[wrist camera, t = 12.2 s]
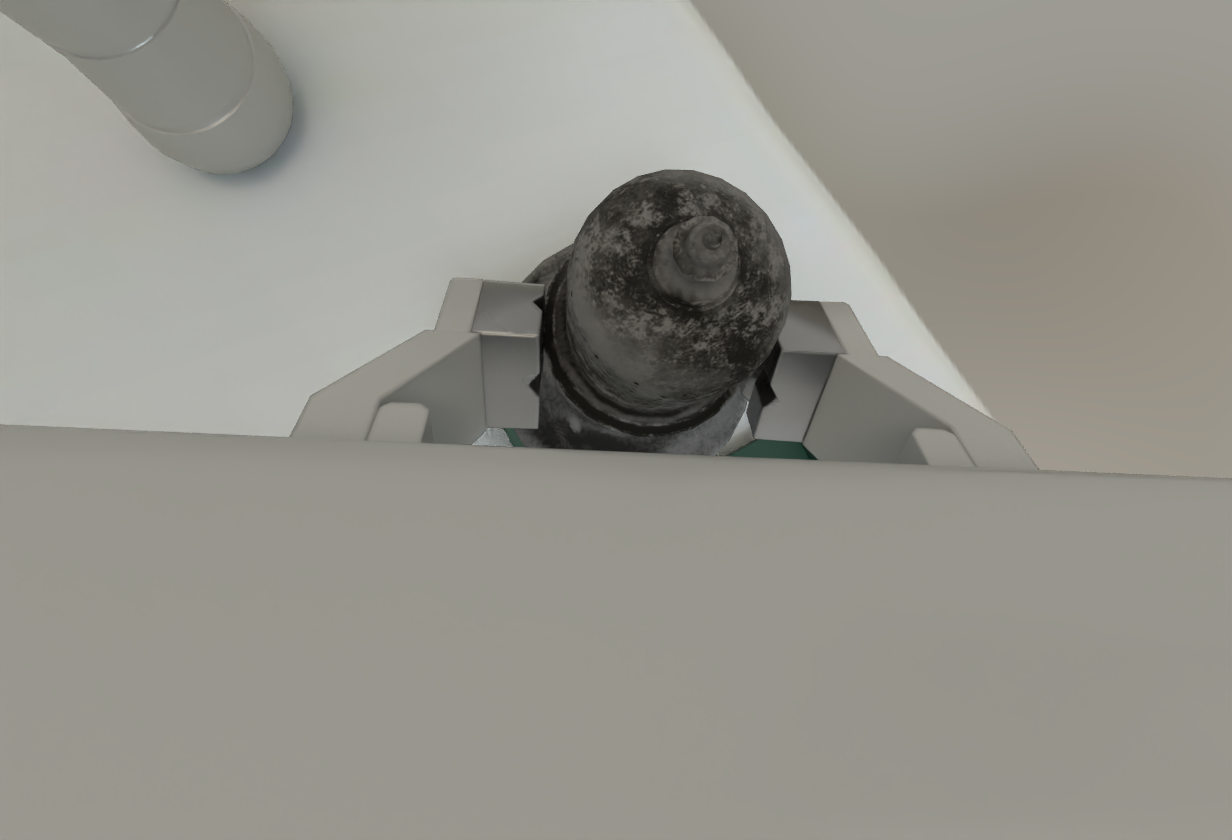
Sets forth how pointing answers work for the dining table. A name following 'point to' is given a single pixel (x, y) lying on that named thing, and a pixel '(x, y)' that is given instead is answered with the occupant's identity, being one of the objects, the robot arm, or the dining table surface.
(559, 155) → the dining table surface
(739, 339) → the stone chess piece
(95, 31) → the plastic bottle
